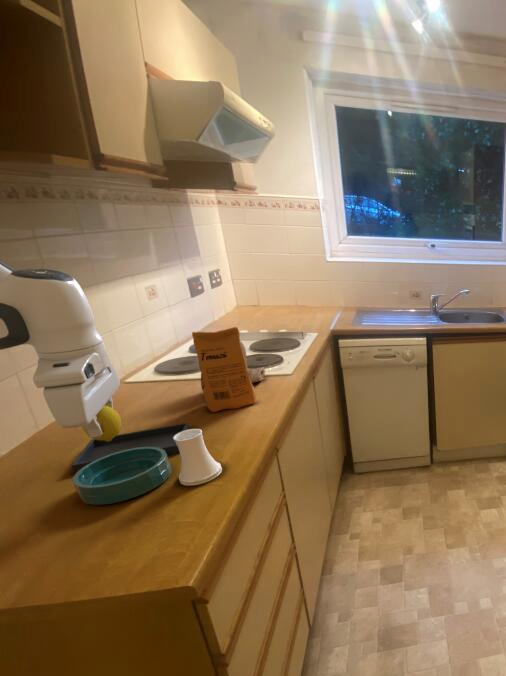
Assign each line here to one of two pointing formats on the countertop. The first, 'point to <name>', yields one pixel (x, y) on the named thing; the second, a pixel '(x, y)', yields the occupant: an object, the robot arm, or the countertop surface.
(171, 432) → the tray
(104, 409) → the lemon
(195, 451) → the vase
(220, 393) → the coffee package
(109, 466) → the bowl
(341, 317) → the countertop surface
